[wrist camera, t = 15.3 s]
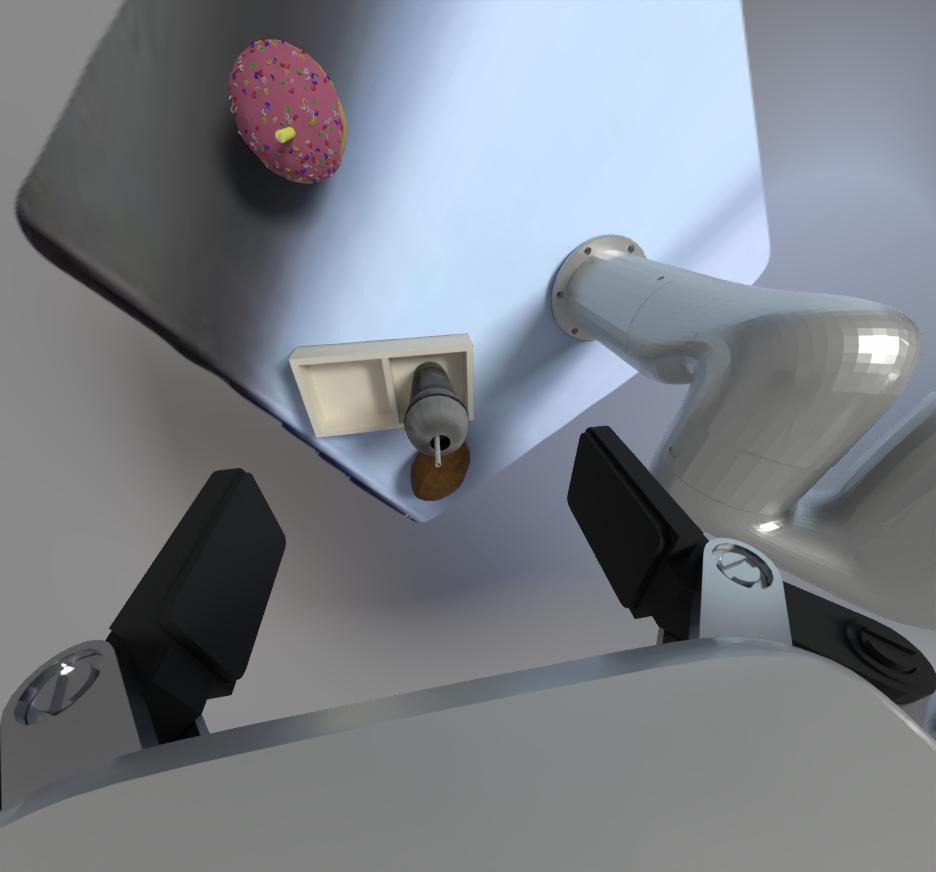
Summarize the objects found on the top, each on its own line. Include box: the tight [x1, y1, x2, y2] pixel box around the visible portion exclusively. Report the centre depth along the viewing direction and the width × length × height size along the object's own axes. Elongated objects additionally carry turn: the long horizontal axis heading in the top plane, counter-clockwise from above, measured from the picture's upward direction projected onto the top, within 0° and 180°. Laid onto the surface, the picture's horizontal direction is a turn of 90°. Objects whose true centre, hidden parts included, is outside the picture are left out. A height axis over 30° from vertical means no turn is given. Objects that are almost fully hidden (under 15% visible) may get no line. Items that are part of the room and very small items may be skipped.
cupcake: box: [228, 39, 347, 183], centre depth 26 cm, size 9×8×12 cm
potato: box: [411, 442, 470, 501], centre depth 53 cm, size 8×12×8 cm, turn 149°
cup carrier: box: [289, 334, 474, 438], centre depth 45 cm, size 22×11×4 cm, turn 91°
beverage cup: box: [404, 362, 469, 467], centre depth 39 cm, size 7×7×20 cm
